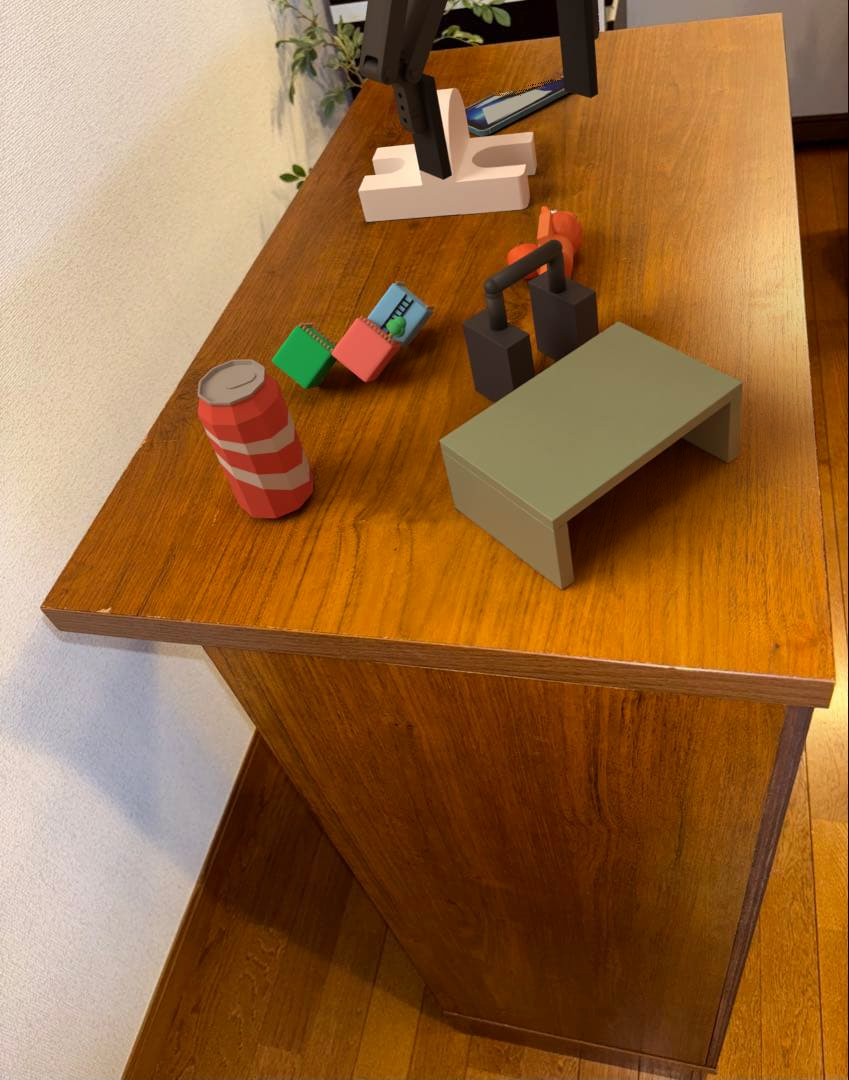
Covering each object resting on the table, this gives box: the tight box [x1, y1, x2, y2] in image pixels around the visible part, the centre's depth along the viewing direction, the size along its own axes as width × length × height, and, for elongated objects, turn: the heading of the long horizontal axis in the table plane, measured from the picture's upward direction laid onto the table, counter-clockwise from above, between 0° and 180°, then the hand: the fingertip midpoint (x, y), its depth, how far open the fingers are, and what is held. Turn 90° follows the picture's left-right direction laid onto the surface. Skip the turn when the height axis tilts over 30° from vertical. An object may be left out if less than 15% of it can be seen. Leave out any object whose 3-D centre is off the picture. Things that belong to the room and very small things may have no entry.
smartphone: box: [464, 76, 570, 137], centre depth 121 cm, size 7×1×15 cm
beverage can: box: [197, 358, 314, 519], centre depth 76 cm, size 6×6×12 cm
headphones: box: [462, 239, 600, 404], centre depth 80 cm, size 6×10×11 cm, turn 128°
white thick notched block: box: [358, 87, 538, 223], centre depth 105 cm, size 18×10×11 cm, turn 79°
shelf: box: [439, 320, 743, 591], centre depth 72 cm, size 12×18×7 cm, turn 128°
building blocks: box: [271, 280, 436, 390], centre depth 88 cm, size 8×8×12 cm
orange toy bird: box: [506, 205, 584, 280], centre depth 93 cm, size 5×8×12 cm
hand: (510, 131), depth 69 cm, fingers open, 13 cm apart
